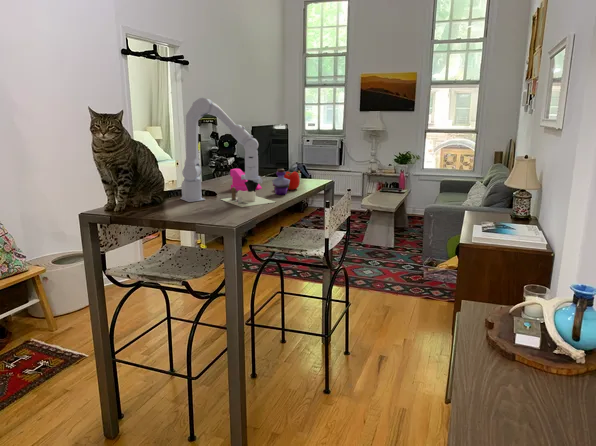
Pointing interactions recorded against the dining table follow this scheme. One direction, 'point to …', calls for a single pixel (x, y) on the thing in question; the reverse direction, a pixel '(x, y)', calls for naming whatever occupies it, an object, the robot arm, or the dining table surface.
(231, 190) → the fence post
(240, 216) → the dining table surface
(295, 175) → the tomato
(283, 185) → the potion bottle
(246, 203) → the card
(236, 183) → the bracket
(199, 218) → the dining table surface
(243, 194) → the fence panel
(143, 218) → the dining table surface
